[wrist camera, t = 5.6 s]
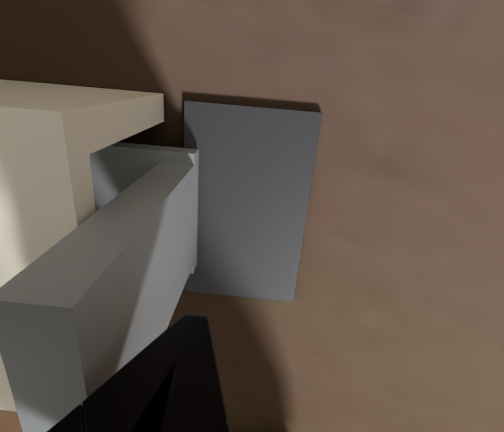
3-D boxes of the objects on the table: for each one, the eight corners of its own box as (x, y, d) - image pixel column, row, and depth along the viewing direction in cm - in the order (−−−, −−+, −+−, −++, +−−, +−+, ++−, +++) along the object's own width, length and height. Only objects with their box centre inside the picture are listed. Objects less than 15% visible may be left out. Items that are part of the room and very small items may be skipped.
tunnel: (292, 301, 19) (304, 442, 12) (28, 275, 19) (-119, 396, 12) (321, 107, 15) (369, 139, 8) (-14, 78, 15) (-277, 82, 8)
